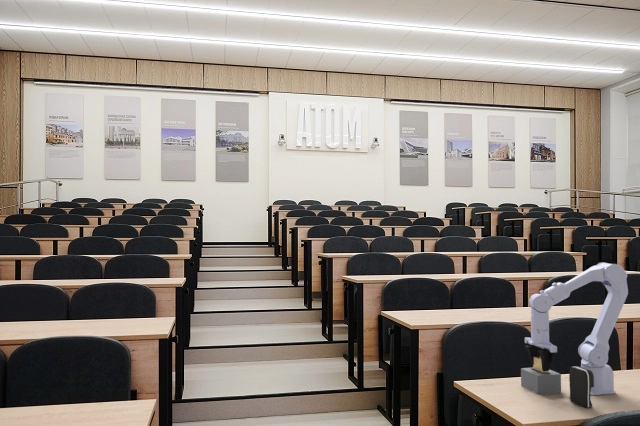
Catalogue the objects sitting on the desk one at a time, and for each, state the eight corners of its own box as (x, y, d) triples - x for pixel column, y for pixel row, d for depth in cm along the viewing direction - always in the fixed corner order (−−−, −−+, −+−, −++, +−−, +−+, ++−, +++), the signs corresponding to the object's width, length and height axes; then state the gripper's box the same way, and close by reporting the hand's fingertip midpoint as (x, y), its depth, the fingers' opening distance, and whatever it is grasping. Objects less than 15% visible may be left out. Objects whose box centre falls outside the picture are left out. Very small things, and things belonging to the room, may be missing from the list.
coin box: (543, 383, 174) (543, 366, 174) (561, 392, 165) (560, 374, 165) (521, 385, 172) (520, 368, 172) (537, 393, 163) (537, 375, 163)
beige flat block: (538, 370, 171) (538, 356, 171) (547, 374, 166) (547, 359, 166) (533, 370, 171) (533, 356, 171) (542, 375, 166) (542, 360, 166)
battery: (596, 407, 150) (595, 370, 151) (586, 408, 149) (586, 371, 150) (578, 400, 157) (577, 364, 158) (568, 401, 156) (568, 365, 156)
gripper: (516, 325, 175) (517, 363, 175) (543, 333, 161) (544, 375, 161) (534, 324, 177) (534, 362, 176) (562, 332, 163) (562, 374, 162)
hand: (540, 368), depth 168 cm, fingers closed on beige flat block, 5 cm apart
